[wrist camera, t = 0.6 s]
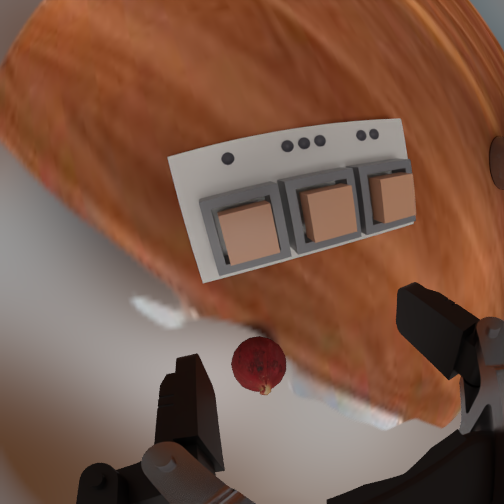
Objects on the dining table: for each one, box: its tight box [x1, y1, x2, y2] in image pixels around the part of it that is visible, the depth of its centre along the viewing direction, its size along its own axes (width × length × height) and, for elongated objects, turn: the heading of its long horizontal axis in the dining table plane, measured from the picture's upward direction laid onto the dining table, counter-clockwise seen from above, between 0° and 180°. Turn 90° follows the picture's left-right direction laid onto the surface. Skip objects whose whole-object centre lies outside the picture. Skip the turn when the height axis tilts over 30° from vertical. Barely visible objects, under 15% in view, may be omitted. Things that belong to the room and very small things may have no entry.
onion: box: [231, 336, 286, 395], centre depth 28 cm, size 6×6×8 cm
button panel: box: [167, 119, 416, 283], centre depth 25 cm, size 24×12×4 cm, turn 102°
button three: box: [299, 183, 357, 243], centre depth 23 cm, size 4×4×2 cm
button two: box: [368, 172, 416, 224], centre depth 23 cm, size 4×4×2 cm
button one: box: [217, 200, 280, 266], centre depth 22 cm, size 4×4×2 cm
